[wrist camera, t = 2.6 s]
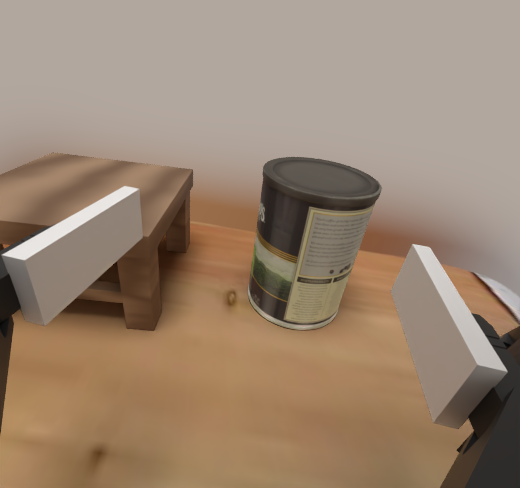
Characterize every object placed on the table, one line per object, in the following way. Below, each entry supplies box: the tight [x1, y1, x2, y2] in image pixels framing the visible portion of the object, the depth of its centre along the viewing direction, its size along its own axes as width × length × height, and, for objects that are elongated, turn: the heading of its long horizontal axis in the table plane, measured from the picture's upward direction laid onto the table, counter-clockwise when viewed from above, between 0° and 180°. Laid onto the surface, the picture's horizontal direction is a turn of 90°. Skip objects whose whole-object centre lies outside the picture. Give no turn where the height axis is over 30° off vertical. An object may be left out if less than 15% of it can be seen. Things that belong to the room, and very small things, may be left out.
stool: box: [0, 153, 193, 331], centre depth 31 cm, size 16×16×10 cm
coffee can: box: [248, 157, 381, 330], centre depth 30 cm, size 10×10×14 cm
